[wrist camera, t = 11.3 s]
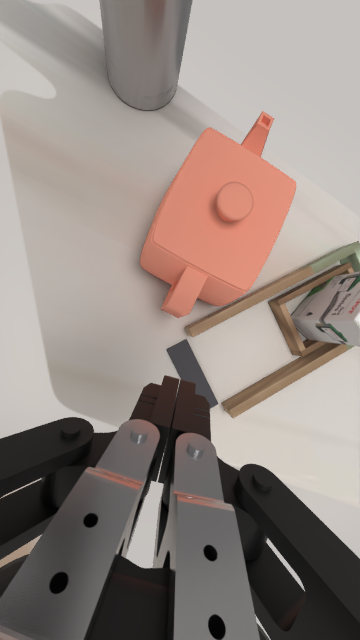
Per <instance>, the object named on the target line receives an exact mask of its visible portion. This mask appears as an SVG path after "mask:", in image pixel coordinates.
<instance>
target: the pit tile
mask: <svg viewBox="0 0 360 640" xmlns="http://www.w3.org/2000/svg"><path fill="white" fill-rule="evenodd" d="M167 351H168V353H169V355H170V357H171V359H172V361H173V363H174V365H175V367H176V369H177V371H178V373H179V375H180V377H181V379H182V380H185V381H189V382H193V383H196V390H195V394H197V395H201V396H205V398H206V399H207V401H208V402H209V405H210V408H212V407H214V406H215V405H217V404H218V402H217V400H216V398H215V396H214V394H213V392H212V390H211V388H210V386H209V384H208V382H207V380H206V378H205V376H204V374H203V372H202V370H201V368H200V366H199V364H198V362H197V360H196V358H195V356H194V354H193V351H192V349H191V347H190V345H189V343H188V341H187V339H186V340H184V341H182V342H180V343H178V344H176V345H174V346H172V347H170V348H168V349H167Z"/></svg>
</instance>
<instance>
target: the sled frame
mask: <svg viewBox="0 0 360 640" xmlns="http://www.w3.org/2000/svg"><path fill="white" fill-rule="evenodd" d="M349 273H354V270H353V268H352V266H351V263H350V262H349V263H345V264H341V265H338V266H335V267H333V268H331V269H330V270H328V271H326V272H324V273H322V274H320V275H318V276H316V277H314V278H312V279H311V280H309V281H307V282H305V283H303V284H301V285H299V286H297V287H295V288H293V289H292V290H290V291H288V292H286V293H284V294H282V295H280V296H278V297H276V298H274V299H273V300H271V301H269V302H268V303H269V305H270V307H271V309H272V311H273V314H274V316H275V318H276V320H277V322H278V324H279V327H280V329H281V331H282V333H283V335H284V337H285V340H286V342H287V344H288V346H289V348H290V350H291V353H292V354H293V355H298V356H302V357H303V356H305V355H307V354H309V353H310V352H312V351H314V350H316V349H317V348H319V347H321V346H322V345H324V344H326V343H328V342H323V341H316V340H309V339H308V340H306V341H304V342H302V340H301V338H300V336H299V334H298V331H297V329H296V327H295V325H294V323H293V320H292V318H291V316H290V314H289V312H288V309H287V307H286V305H285V303H286V302H288V301H290V300H292V299H294V298H295V297H297V296H299V295H301V294H303V293H305V292H307V291H309V290H310V289H312V288H314V287H316V286H318V285H320V284H322V283H324V282H325V281H327V280H329V279H331V278H332V277H334V276H339V275H344V274H349Z"/></svg>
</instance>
